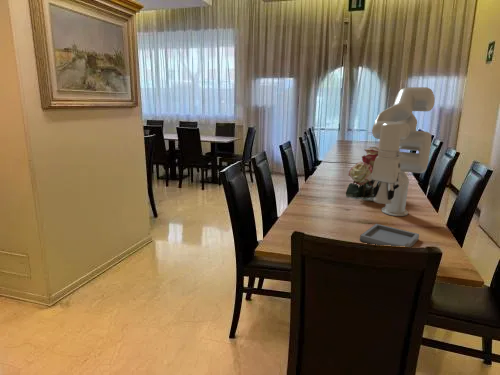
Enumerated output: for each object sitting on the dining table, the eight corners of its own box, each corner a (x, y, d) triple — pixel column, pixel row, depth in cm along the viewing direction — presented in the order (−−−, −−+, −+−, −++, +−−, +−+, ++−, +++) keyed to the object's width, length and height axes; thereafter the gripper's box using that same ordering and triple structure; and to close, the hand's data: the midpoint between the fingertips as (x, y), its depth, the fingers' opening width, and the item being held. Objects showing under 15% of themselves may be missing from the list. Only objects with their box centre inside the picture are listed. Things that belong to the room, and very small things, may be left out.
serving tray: (375, 228, 152) (376, 223, 151) (418, 239, 141) (419, 233, 140) (359, 240, 139) (360, 235, 138) (405, 253, 128) (406, 247, 127)
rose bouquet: (343, 199, 197) (347, 148, 189) (352, 188, 222) (357, 142, 214) (389, 205, 186) (396, 152, 178) (394, 193, 211) (400, 145, 203)
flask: (387, 199, 143) (390, 176, 140) (394, 204, 136) (397, 180, 134) (370, 199, 143) (373, 176, 140) (376, 204, 136) (379, 180, 133)
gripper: (413, 155, 132) (407, 200, 136) (371, 151, 143) (366, 192, 147) (407, 158, 126) (401, 204, 131) (363, 152, 137) (359, 195, 142)
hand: (383, 197), depth 139 cm, fingers closed on flask, 5 cm apart
